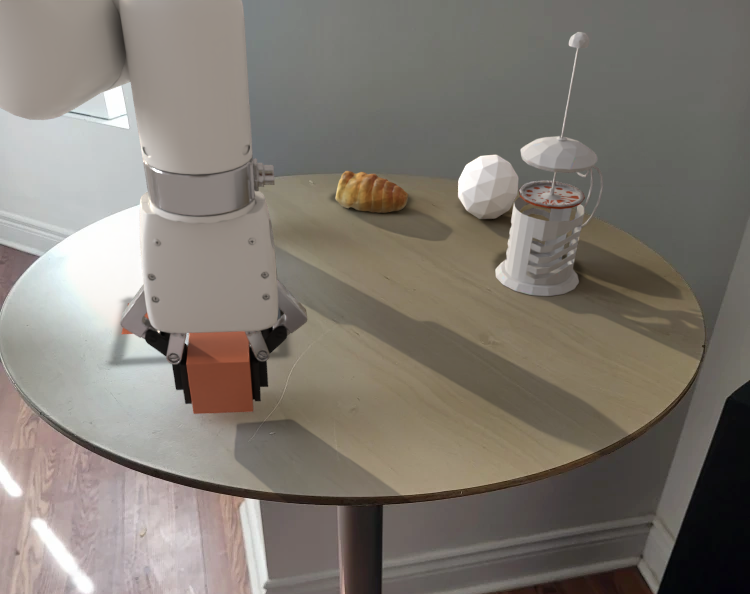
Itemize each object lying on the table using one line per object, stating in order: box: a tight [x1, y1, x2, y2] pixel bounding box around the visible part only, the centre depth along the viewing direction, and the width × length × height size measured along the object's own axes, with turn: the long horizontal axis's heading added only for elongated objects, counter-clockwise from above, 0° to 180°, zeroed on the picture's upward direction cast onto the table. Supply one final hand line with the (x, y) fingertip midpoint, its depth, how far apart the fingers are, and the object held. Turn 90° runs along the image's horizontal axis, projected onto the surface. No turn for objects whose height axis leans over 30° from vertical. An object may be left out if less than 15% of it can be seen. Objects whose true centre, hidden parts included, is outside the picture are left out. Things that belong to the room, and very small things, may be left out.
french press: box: [494, 31, 604, 297], centre depth 83 cm, size 10×12×25 cm
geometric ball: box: [457, 154, 519, 220], centre depth 101 cm, size 8×8×8 cm
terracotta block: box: [186, 331, 254, 415], centre depth 66 cm, size 5×5×5 cm
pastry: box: [334, 170, 409, 214], centre depth 104 cm, size 9×7×4 cm
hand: (223, 391), depth 67 cm, fingers closed on terracotta block, 5 cm apart
